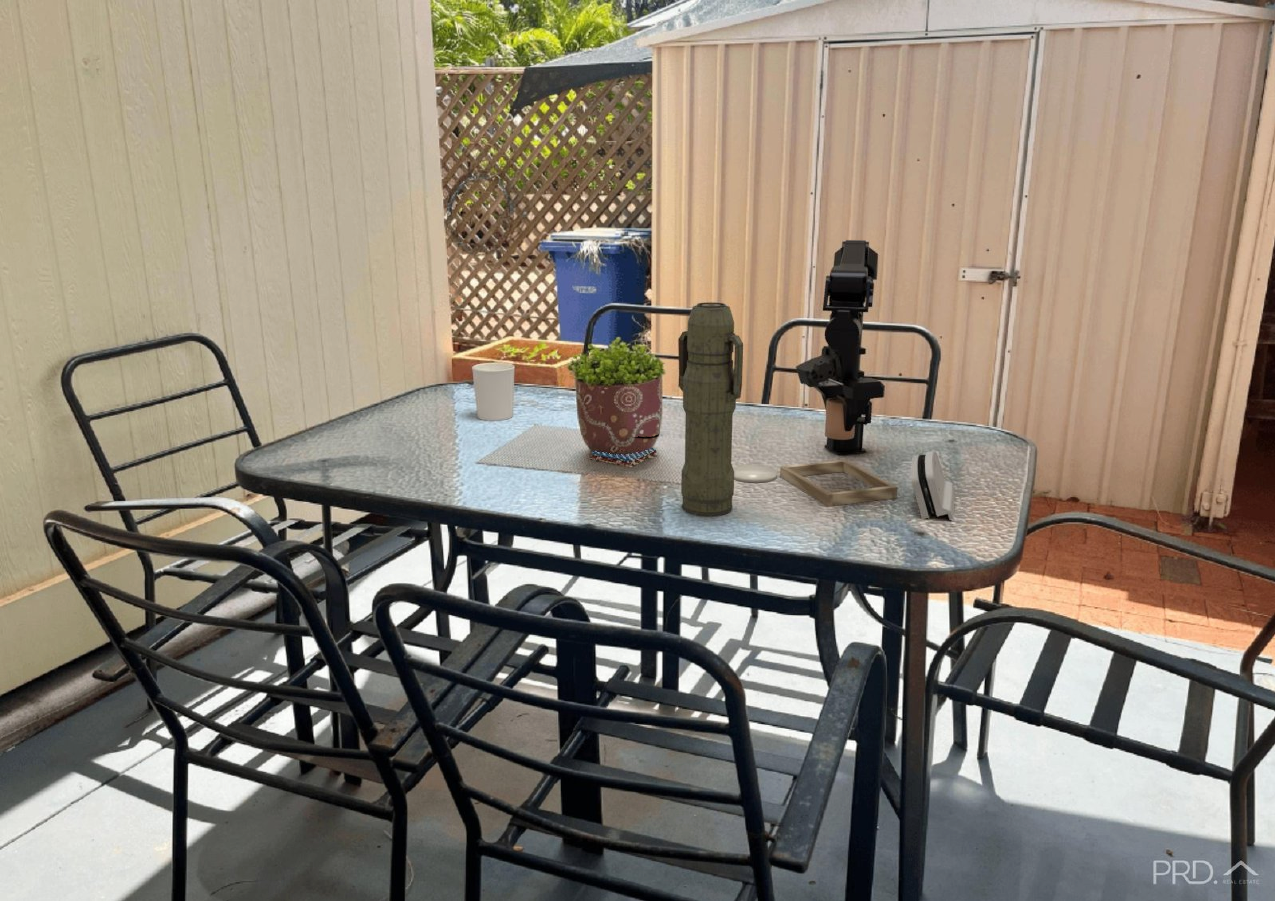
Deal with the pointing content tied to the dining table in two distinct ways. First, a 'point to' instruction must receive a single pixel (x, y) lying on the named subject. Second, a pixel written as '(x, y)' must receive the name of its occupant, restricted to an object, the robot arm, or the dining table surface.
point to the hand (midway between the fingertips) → (839, 427)
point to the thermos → (709, 407)
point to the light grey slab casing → (931, 486)
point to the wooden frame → (877, 492)
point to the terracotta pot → (836, 421)
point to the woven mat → (624, 457)
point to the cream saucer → (754, 473)
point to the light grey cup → (494, 390)
